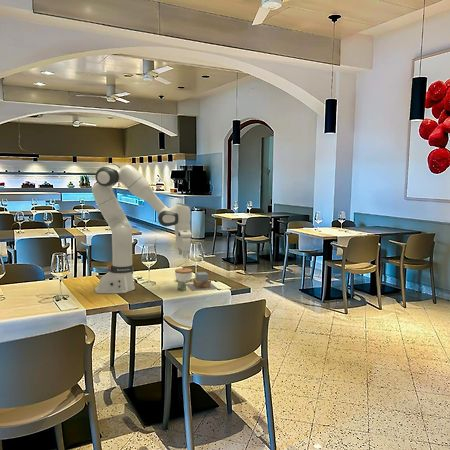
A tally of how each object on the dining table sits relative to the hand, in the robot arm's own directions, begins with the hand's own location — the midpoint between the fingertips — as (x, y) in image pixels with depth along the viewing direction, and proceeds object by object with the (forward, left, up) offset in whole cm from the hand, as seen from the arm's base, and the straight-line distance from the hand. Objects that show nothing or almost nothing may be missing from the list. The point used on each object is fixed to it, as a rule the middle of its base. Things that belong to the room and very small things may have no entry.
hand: (182, 256), depth 246 cm
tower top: (+13, +4, -16) cm, 21 cm away
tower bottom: (+13, +4, -20) cm, 24 cm away
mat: (+13, +4, -20) cm, 24 cm away
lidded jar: (+6, +20, -21) cm, 29 cm away
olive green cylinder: (0, 0, -21) cm, 21 cm away
